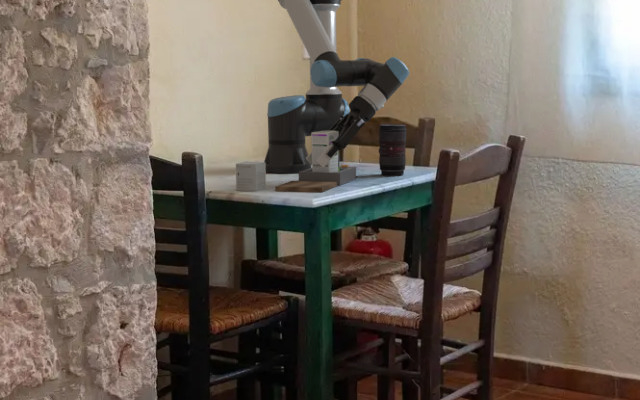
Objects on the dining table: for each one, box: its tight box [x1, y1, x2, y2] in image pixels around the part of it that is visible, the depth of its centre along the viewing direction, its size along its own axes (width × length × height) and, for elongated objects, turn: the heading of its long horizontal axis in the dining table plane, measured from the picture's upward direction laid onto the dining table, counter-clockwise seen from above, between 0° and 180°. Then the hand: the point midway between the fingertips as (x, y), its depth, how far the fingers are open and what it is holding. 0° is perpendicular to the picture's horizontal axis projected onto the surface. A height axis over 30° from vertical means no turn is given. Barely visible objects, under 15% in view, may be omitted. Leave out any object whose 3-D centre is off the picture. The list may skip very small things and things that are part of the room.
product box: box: [235, 161, 267, 192], centre depth 251 cm, size 6×6×7 cm
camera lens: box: [378, 124, 407, 177], centre depth 280 cm, size 8×8×15 cm
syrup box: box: [310, 130, 340, 172], centre depth 264 cm, size 6×6×14 cm
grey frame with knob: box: [298, 164, 357, 187], centre depth 267 cm, size 12×16×4 cm
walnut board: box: [274, 180, 338, 193], centre depth 252 cm, size 13×13×1 cm
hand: (314, 163), depth 263 cm, fingers closed on syrup box, 8 cm apart
